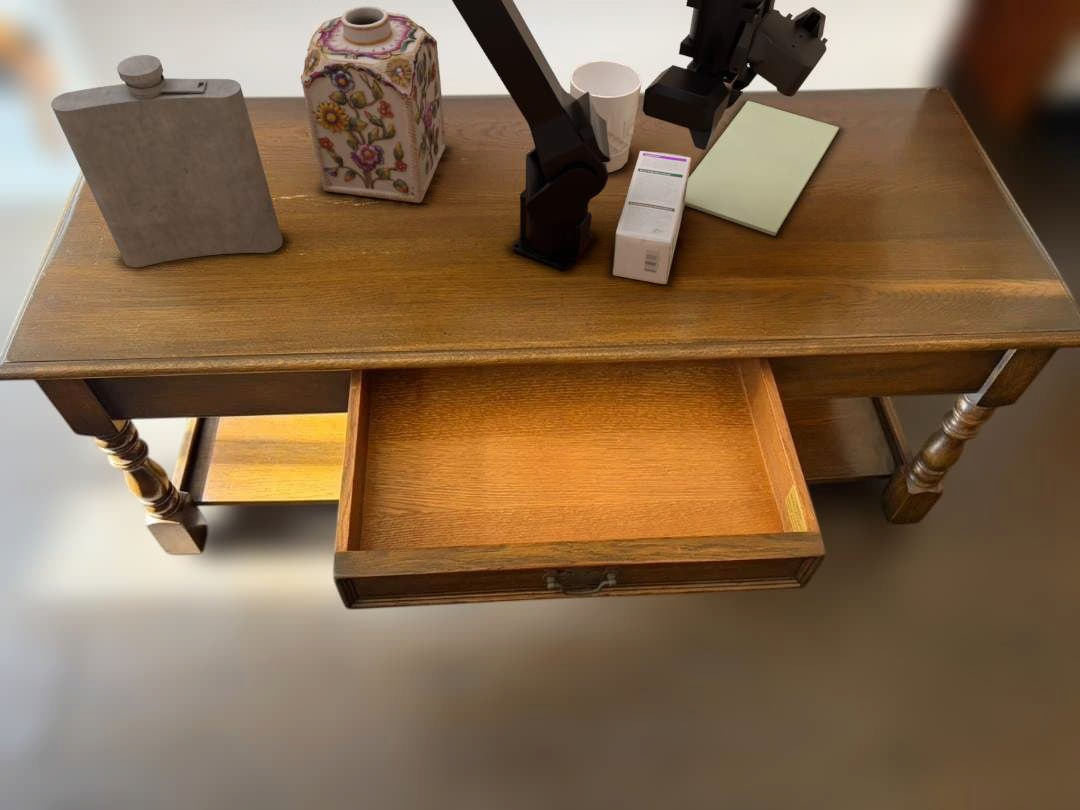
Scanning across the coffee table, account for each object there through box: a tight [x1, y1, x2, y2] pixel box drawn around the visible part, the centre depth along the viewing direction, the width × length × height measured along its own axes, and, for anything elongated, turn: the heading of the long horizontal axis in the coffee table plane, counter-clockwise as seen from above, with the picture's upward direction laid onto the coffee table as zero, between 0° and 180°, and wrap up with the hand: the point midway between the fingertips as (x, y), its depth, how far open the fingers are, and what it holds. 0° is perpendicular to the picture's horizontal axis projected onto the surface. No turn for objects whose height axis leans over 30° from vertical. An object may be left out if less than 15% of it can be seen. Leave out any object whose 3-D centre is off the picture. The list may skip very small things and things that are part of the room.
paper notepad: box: [684, 100, 840, 237], centre depth 98 cm, size 12×24×1 cm, turn 151°
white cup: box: [569, 59, 643, 173], centre depth 95 cm, size 8×8×10 cm
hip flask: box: [50, 54, 284, 268], centre depth 79 cm, size 16×4×20 cm, turn 102°
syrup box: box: [612, 150, 692, 285], centre depth 87 cm, size 6×6×14 cm
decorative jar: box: [300, 5, 446, 204], centre depth 89 cm, size 12×12×18 cm
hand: (701, 147), depth 79 cm, fingers closed
